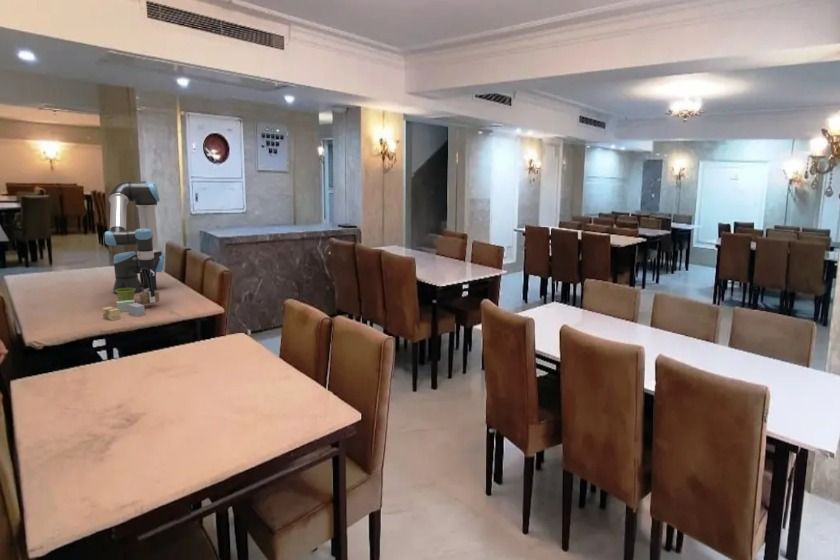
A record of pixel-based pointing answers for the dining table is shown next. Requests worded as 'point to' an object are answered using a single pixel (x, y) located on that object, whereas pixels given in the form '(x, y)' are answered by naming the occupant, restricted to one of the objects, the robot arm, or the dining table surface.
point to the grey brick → (136, 309)
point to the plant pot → (125, 294)
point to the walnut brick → (145, 298)
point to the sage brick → (124, 305)
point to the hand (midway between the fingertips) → (150, 301)
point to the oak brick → (111, 313)
